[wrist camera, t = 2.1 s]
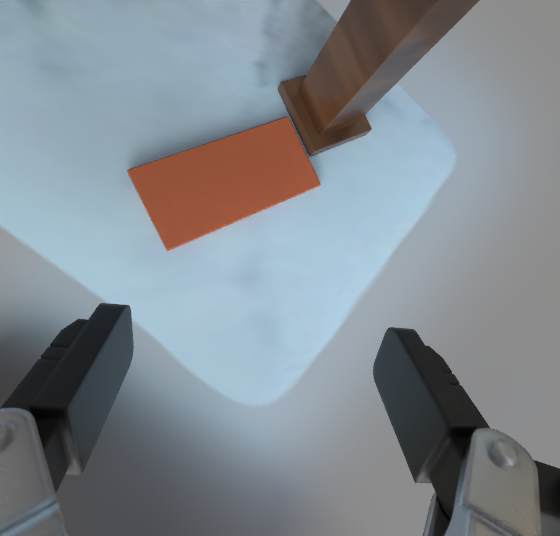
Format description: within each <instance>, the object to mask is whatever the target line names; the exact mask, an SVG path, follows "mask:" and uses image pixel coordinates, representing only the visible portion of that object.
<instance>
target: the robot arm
mask: <svg viewBox="0 0 560 536" xmlns="http://www.w3.org/2000/svg"><path fill="white" fill-rule="evenodd" d="M132 333H133V332H132V318H131V309H130V306H129V305H119V304H107V303H101V304H99V306H98V307H97V308H96V310H95V312H94V313H93V314H92V315H91V317H90V318H89V320H85V319H78V320H76V321H75V322H73V323H72V324H70V325H69V326H67V327H66V328H64V329H63V330H61V332H60V333H59V334H58V335H57V336H56V338H55V339H54V340H53V342H52V343H51V344H50V347H48V348H47V349H46V351H45V352H44V353H43V354H42V356H41V359H39V360H38V361H37V362H36V363H35V365H34V366H33V367H32V369H31V370H30V371H29V372H28V374H27V375H26V376H25V378H24V379H23V380H22V381H21V383H20V384H19V385H18V387H17V388H16V389H15V390H14V392H13V393H12V394H11V396H10V397H9V398H8V399H7V401H6V402H5V403H4V405H3V406H2V407H1V408H0V536H68V533H67V530H66V527H65V523H64V519H63V516H62V512H61V508H60V505H59V501H58V497H57V494H56V493H57V490H58V488H59V486H60V484H61V482H62V480H63V478H64V476H65V474H73V475H82V473H83V471H84V468H85V466H86V464H87V462H88V459H89V457H90V455H91V453H92V450H93V448H94V446H95V444H96V441H97V439H98V437H99V435H100V432H101V430H102V428H103V425H104V423H105V421H106V419H107V416H108V414H109V412H110V410H111V407H112V405H113V403H114V401H115V398H116V396H117V394H118V391H119V389H120V387H121V385H122V382H123V380H124V378H125V376H126V373H127V371H128V369H129V366H130V364H131V360H132V356H133V334H132ZM373 375H374V380H375V383H376V386H377V388H378V391H379V393H380V396H381V398H382V401H383V403H384V406H385V408H386V411H387V413H388V416H389V418H390V421H391V424H392V426H393V428H394V431H395V434H396V436H397V439H398V441H399V444H400V446H401V449H402V451H403V454H404V456H405V458H406V461H407V464H408V466H409V469H410V471H411V474H412V476H413V479H414V481H415V483H432V485H433V487H434V489H435V493H434V495H433V496H432V499H431V503H430V507H429V512H428V516H427V520H426V525H425V528H424V532H423V536H560V469H559V468H556V467H553V466H550V465H547V464H544V463H541V462H538V461H535V460H533V459H532V457H531V456H530V454H529V453H528V452H527V451H526V450H525V449H524V448H523V447H522V446H521V445H520V444H519V443H518V442H517V441H515V440H514V439H513V438H511V437H510V436H508V435H506V434H504V433H502V432H500V431H498V430H495V429H491V428H490V427H489V426H488V424H487V423H486V421H485V420H484V418H483V417H482V415H481V414H480V412H479V411H478V409H477V408H476V406H475V405H474V404H473V402H472V401H471V399H470V398H469V396H468V395H467V393H466V392H465V390H464V389H463V387H462V386H460V385H459V381H458V380H457V378H456V377H455V375H454V374H452V371H451V370H450V368H449V367H448V365H447V364H446V362H445V361H444V359H443V358H442V357H441V356H440V355H439V354H437V353H436V352H435V351H434V350H433V349H432V348H430V347H429V346H425V345H424V343H423V342H422V340H421V339H420V337H419V335H418V334H417V332H416V331H415V330H413V329H405V328H393V327H392V328H391V327H390V328H388V329H387V331H386V333H385V335H384V338H383V341H382V343H381V346H380V349H379V351H378V354H377V357H376V359H375V362H374V367H373Z"/></svg>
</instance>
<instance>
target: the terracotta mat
mask: <svg viewBox="0 0 560 536" xmlns="http://www.w3.org/2000/svg"><path fill="white" fill-rule="evenodd" d="M127 172H128V174H129V176H130V178H131V180H132V182H133V184H134V186H135V188H136V190H137V192H138V194H139V196H140V198H141V200H142V202H143V204H144V206H145V208H146V210H147V212H148V214H149V216H150V218H151V220H152V222H153V224H154V226H155V228H156V230H157V232H158V234H159V236H160V238H161V240H162V242H163V244H164V246H165V248H166V250H167V251H168V250H171V249H173V248H175V247H178V246H180V245H182V244H185V243H187V242H189V241H192V240H194V239H196V238H199V237H201V236H203V235H206V234H208V233H210V232H213V231H215V230H217V229H220V228H222V227H224V226H227V225H229V224H231V223H234V222H236V221H238V220H241V219H243V218H245V217H248V216H250V215H252V214H255V213H257V212H259V211H262V210H264V209H266V208H269V207H271V206H273V205H276V204H278V203H280V202H283V201H285V200H287V199H290V198H292V197H294V196H297V195H299V194H301V193H304V192H306V191H308V190H311V189H313V188H315V187H318V186H319V185H320V182H319V180H318V178H317V175H316V173H315V171H314V169H313V167H312V165H311V163H310V161H309V159H308V157H307V155H306V152H305V150H304V148H303V146H302V144H301V142H300V140H299V138H298V136H297V134H296V132H295V130H294V127H293V125H292V123H291V121H290V119H289V117H285V118H282V119H279V120H276V121H273V122H270V123H267V124H264V125H261V126H258V127H255V128H252V129H249V130H246V131H243V132H240V133H237V134H234V135H231V136H228V137H225V138H222V139H219V140H216V141H213V142H210V143H207V144H204V145H201V146H198V147H195V148H192V149H189V150H186V151H183V152H180V153H177V154H174V155H171V156H168V157H165V158H162V159H159V160H156V161H153V162H150V163H147V164H144V165H141V166H138V167H135V168H132V169H129V170H127Z"/></svg>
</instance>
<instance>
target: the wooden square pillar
mask: <svg viewBox="0 0 560 536" xmlns="http://www.w3.org/2000/svg"><path fill="white" fill-rule="evenodd" d="M478 1H479V0H351V1H350V3H349V5H348V6H347V8H346V10H345V11H344V13H343V15H342V16H341V18H340V20H339V21H338V23H337V25H336V27H335V28H334V30H333V32H332V33H331V35H330V37H329V38H328V40H327V42H326V44H325V45H324V47H323V49H322V50H321V52H320V54H319V55H318V57H317V59H316V61H315V62H314V64H313V66H312V67H311V69H310V71H309V72H308V74H307V75H304V76H301V77H297V78H294V79H290V80H287V81H284V82H281V84H280V86H279V88H278V91H279V93H280V95H281V97H282V99H283V101H284V103H285V106H286V108H287V110H288V112H289V114H290V116H291V118H292V120H293V122H294V124H295V126H296V129H297V131H298V133H299V135H300V137H301V139H302V141H303V143H304V145H305V147H306V149H307V151H308V154H309V156H313V155H315V154H318V153H320V152H323V151H326V150H328V149H331V148H333V147H336V146H338V145H341V144H343V143H346V142H349V141H351V140H354V139H356V138H359V137H361V136H364V135H366V134H367V133H368V132H369V131H370V130H371V127H370V125H369V123H368V120H367V118H366V116H365V114H366V113H367V112H368V111H369V110H370V109H371V108H372V107H373V106H374V105H375V104H376V103H377V102H378V101H379V100H380V99H381V98H382V97H383V96H384V95H385V94H386V93H387V92H388V91H389V90H390V89H391V88H392V87H393V86H394V85H395V84H396V83H397V82H398V81H399V80H400V79H401V78H402V77H403V76H404V75H405V74H406V73H407V72H408V71H409V70H410V69H411V68H412V67H413V66H414V65H415V64H416V63H417V62H418V61H419V60H420V59H421V58H422V57H423V56H424V55H425V54H426V53H427V52H428V51H429V50H430V49H431V48H432V47H433V46H434V45H435V44H436V43H437V42H438V41H439V40H440V39H441V38H442V37H443V36H444V35H445V34H446V33H447V32H448V31H449V30H450V29H451V28H452V27H453V26H454V25H455V24H456V23H457V22H458V21H459V20H460V19H461V18H462V17H463V16H464V15H465V14H466V13H467V12H468V11H469V10H470V9H471V8H472V7H473V6H474V5H475V4H476V3H477V2H478Z"/></svg>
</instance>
